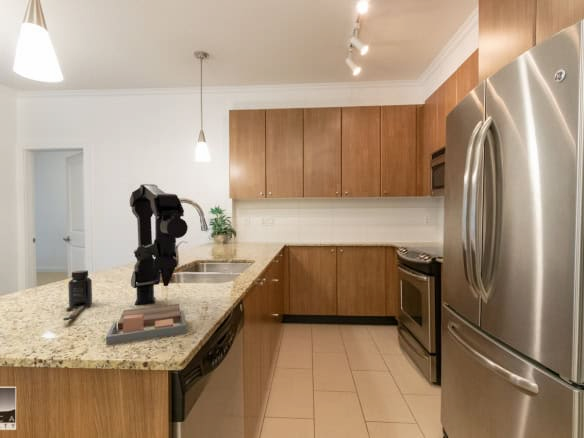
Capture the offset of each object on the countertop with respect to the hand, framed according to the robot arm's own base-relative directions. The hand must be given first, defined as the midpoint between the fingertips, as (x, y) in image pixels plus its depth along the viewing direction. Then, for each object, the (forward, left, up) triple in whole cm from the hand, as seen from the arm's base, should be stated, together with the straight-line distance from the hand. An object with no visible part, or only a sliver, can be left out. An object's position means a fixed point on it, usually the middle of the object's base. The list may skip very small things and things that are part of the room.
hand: (165, 285), depth 90 cm
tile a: (+8, -8, -8) cm, 13 cm away
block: (+11, 0, -7) cm, 14 cm away
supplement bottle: (-28, -28, -11) cm, 41 cm away
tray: (+11, -4, -10) cm, 16 cm away
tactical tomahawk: (-12, -29, -12) cm, 34 cm away
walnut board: (0, -4, -10) cm, 11 cm away
